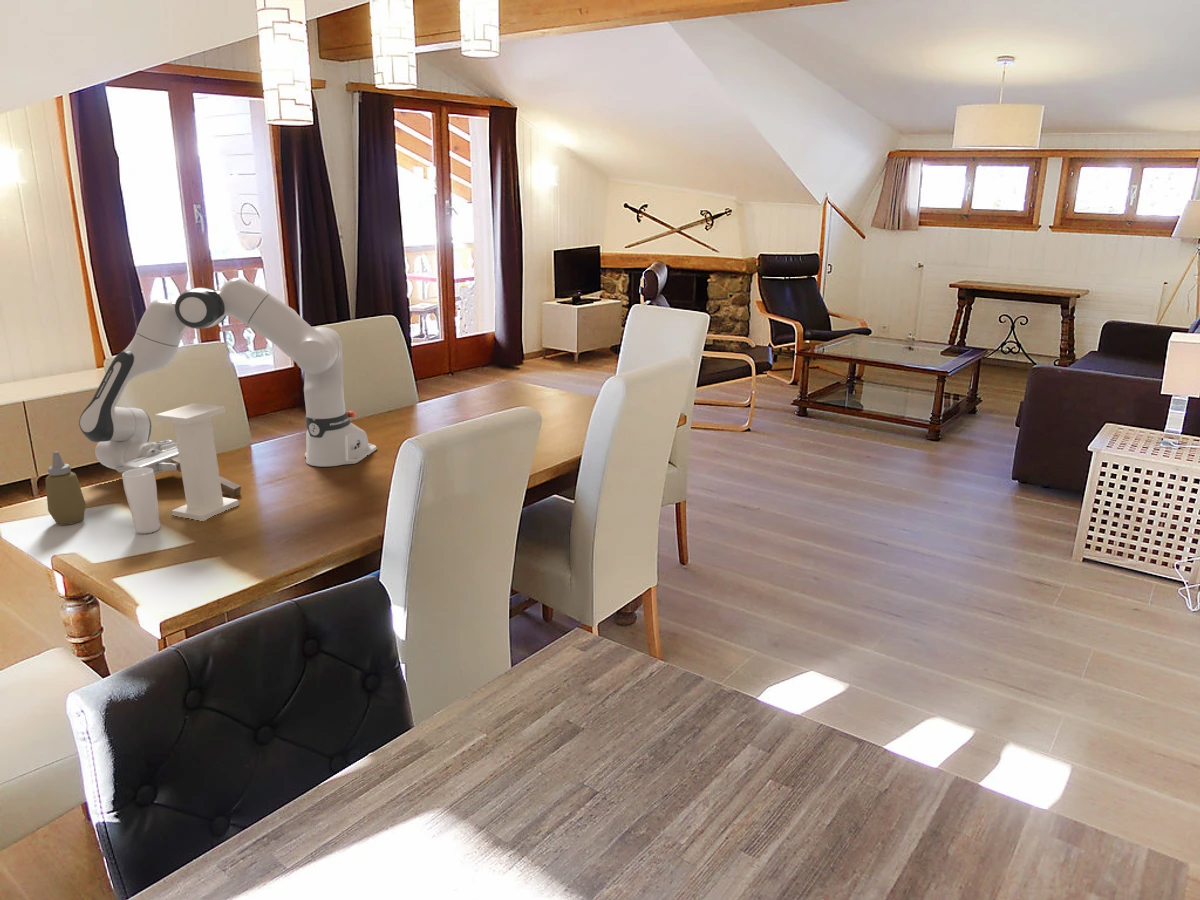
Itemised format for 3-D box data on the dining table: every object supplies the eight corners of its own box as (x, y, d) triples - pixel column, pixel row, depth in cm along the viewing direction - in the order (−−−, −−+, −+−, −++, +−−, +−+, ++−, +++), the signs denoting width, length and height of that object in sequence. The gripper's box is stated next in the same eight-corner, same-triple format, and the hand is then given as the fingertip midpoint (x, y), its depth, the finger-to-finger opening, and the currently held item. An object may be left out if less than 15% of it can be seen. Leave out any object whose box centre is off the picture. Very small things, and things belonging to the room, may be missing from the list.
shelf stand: (209, 499, 227) (194, 402, 219) (238, 505, 223) (224, 406, 215) (172, 516, 216) (155, 414, 208) (202, 521, 213) (186, 418, 204)
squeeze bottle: (49, 529, 208) (34, 459, 203) (52, 518, 215) (37, 450, 209) (88, 523, 212) (74, 454, 206) (89, 512, 218) (75, 445, 213)
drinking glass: (169, 525, 210) (159, 467, 206) (153, 536, 204) (142, 477, 199) (143, 524, 211) (133, 466, 207) (126, 535, 205) (115, 476, 200)
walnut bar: (177, 464, 237) (178, 456, 236) (240, 494, 231) (240, 486, 230) (170, 467, 234) (170, 458, 233) (233, 497, 229) (233, 489, 228)
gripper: (110, 459, 229) (149, 465, 224) (173, 438, 247) (210, 443, 242) (115, 481, 231) (153, 488, 226) (177, 458, 249) (213, 464, 244)
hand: (183, 464), depth 234 cm, fingers closed on walnut bar, 2 cm apart
